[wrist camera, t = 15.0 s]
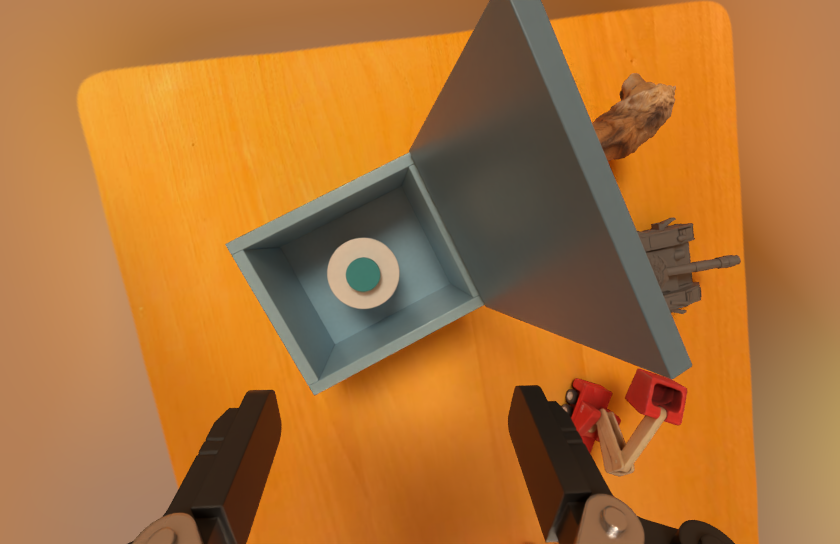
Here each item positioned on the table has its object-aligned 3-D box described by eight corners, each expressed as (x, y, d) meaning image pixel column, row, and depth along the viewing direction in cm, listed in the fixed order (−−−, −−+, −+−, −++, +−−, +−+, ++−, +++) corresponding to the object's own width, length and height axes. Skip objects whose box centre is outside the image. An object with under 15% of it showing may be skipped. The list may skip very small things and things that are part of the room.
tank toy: (686, 212, 36) (737, 207, 31) (696, 301, 37) (747, 311, 32) (576, 234, 35) (610, 233, 30) (589, 326, 36) (624, 340, 31)
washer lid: (672, 380, 10) (693, 366, 10) (501, -23, 8) (528, -34, 9) (485, 306, 24) (495, 301, 24) (408, 150, 23) (419, 145, 23)
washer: (332, 352, 33) (314, 396, 24) (270, 243, 32) (224, 244, 22) (459, 286, 34) (488, 302, 25) (404, 175, 32) (413, 150, 23)
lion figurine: (592, 99, 34) (669, 48, 25) (620, 147, 34) (703, 114, 25) (469, 186, 33) (501, 166, 24) (499, 232, 34) (542, 229, 25)
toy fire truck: (538, 464, 36) (595, 544, 27) (584, 341, 36) (658, 378, 26) (567, 472, 37) (632, 553, 27) (612, 351, 36) (695, 390, 27)
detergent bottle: (355, 305, 32) (347, 324, 25) (327, 254, 31) (311, 259, 24) (405, 279, 32) (412, 290, 25) (379, 228, 32) (378, 224, 24)
